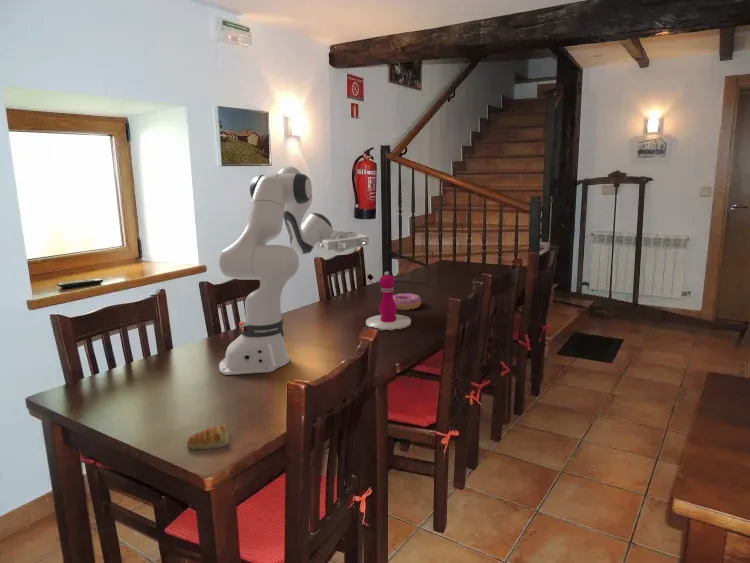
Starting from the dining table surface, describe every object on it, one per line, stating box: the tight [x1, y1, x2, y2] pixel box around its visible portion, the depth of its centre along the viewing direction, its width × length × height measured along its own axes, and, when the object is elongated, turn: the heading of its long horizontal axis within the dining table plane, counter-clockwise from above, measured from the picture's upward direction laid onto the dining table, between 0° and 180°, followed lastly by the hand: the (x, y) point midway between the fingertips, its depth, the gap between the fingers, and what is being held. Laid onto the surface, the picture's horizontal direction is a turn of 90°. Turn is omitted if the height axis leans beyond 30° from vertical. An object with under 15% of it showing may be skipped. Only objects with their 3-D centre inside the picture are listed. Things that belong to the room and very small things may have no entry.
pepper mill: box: [378, 270, 398, 322], centre depth 212 cm, size 7×7×20 cm
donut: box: [393, 293, 422, 311], centre depth 240 cm, size 14×14×5 cm
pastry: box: [186, 424, 230, 450], centre depth 124 cm, size 9×7×4 cm
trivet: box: [365, 313, 412, 331], centre depth 214 cm, size 18×18×2 cm
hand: (356, 244), depth 213 cm, fingers open, 8 cm apart
